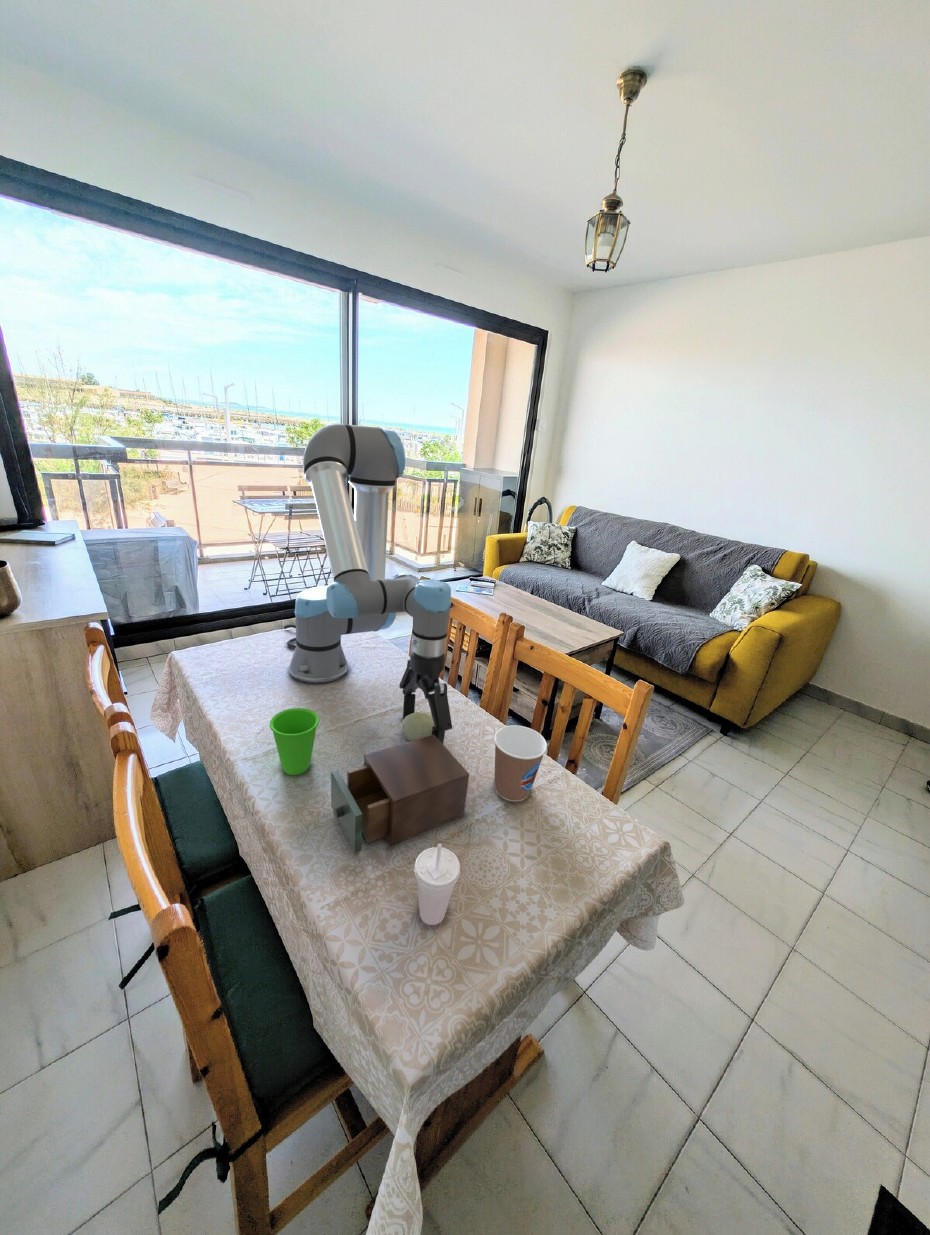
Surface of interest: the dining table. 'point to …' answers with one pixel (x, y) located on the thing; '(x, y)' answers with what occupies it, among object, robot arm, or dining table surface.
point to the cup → (295, 738)
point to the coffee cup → (517, 761)
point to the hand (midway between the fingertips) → (421, 734)
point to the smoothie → (435, 882)
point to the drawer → (360, 806)
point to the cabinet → (419, 786)
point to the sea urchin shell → (417, 725)
